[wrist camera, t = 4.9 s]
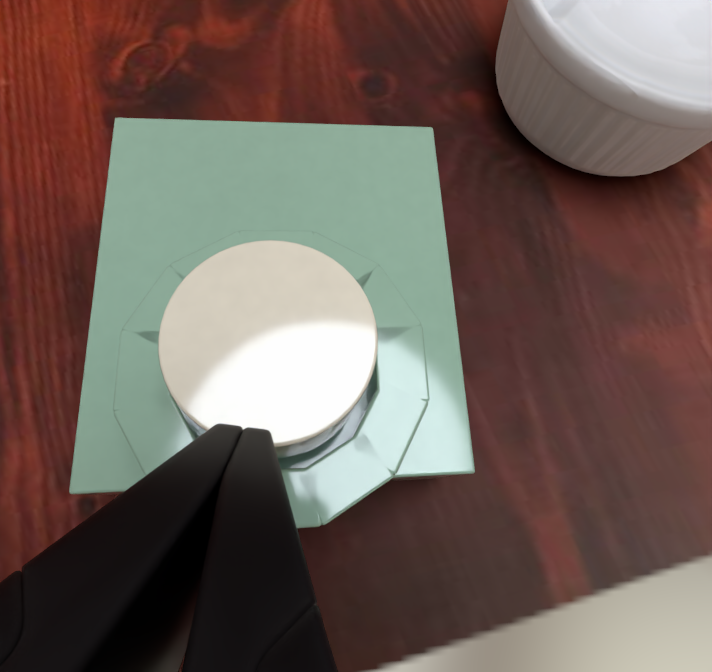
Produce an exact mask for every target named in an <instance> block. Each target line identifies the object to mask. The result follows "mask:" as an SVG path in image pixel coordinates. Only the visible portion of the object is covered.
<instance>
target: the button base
mask: <svg viewBox="0 0 712 672" xmlns="http://www.w3.org/2000/svg"><path fill="white" fill-rule="evenodd" d="M266 240H275V241H287V242H292V243H297V244H301V245H304V246H307V247H310V248H313V249H315V250H317V251H320V252H322V253H324V254H325V255H327V256H329V257H330V258H332V259H334V260H335V261H336V262H337V263H339V264H340V265H341V266H343V267H344V268H345V269H346V270H347V271H348V272H349V273H350V274H351V275H352V276H353V277H354V278H355V280H356V281H357V282H358V283H359V285H360V286H361V288H362V289H363V291H364V293H365V294H366V296H367V298H368V300H369V302H370V305H371V307H372V309H373V313H374V316H375V320H376V325H377V332H378V351H377V358H376V364H375V367H374V371H373V374H372V377H371V379H370V381H369V384H368V386H367V388H366V390H365V392H364V393H363V395H362V397H361V398H360V400H359V402H358V404H357V405H356V407H355V409H354V411H353V412H352V414H351V416H350V417H349V419H348V420H347V421H346V423H345V424H344V425H343V427H342V428H341V429H340V430H339V431H338V432H337V433H336V434H335V435H334V436H333V437H331V438H330V439H328V440H327V441H326V442H324V443H323V444H321V445H319V446H318V447H316V448H314V449H312V450H309V451H307V452H304V453H302V454H298V455H294V456H290V457H281V458H278V461H279V464H280V468H281V472H282V475H283V479H284V483H285V486H286V490H287V494H288V497H289V501H290V505H291V508H292V512H293V516H294V519H295V523H296V527H297V528H312V527H319V526H321V525H326V524H327V523H329V522H330V521H332V520H333V519H335V518H336V517H338V516H339V515H340V514H342V513H343V512H345V511H346V510H348V509H349V508H351V507H352V506H353V505H355V504H356V503H358V502H359V501H361V500H362V499H364V498H365V497H366V496H368V495H369V494H371V493H372V492H374V491H375V490H377V489H378V488H379V487H381V486H382V485H384V484H385V483H387V482H388V481H399V480H418V479H436V478H443V477H451V476H459V475H466V474H473V473H474V472H475V468H474V459H473V451H472V443H471V435H470V427H469V419H468V411H467V402H466V394H465V386H464V378H463V370H462V362H461V354H460V345H459V337H458V329H457V321H456V313H455V305H454V296H453V288H452V280H451V272H450V264H449V256H448V248H447V239H446V231H445V223H444V215H443V207H442V199H441V191H440V182H439V174H438V166H437V158H436V150H435V142H434V133H433V128H432V127H409V126H376V125H343V124H310V123H277V122H244V121H211V120H178V119H145V118H115V122H114V130H113V138H112V146H111V154H110V163H109V171H108V179H107V187H106V195H105V203H104V212H103V220H102V228H101V236H100V244H99V252H98V261H97V269H96V277H95V285H94V293H93V301H92V309H91V318H90V326H89V334H88V342H87V350H86V358H85V367H84V375H83V383H82V391H81V399H80V407H79V416H78V424H77V432H76V440H75V448H74V456H73V465H72V473H71V481H70V489H69V492H70V494H90V495H120V494H122V493H123V492H124V491H126V490H127V489H128V488H130V487H131V486H132V485H134V484H135V483H136V482H138V481H139V480H141V479H142V478H143V477H145V476H146V475H147V474H149V473H150V472H151V471H153V470H154V469H156V468H157V467H158V466H160V465H161V464H162V463H164V462H165V461H166V460H168V459H169V458H170V457H172V456H173V455H175V454H176V453H177V452H179V451H180V450H181V449H183V448H184V447H185V446H187V445H188V444H190V443H191V442H192V441H194V440H195V439H196V438H198V437H199V436H200V435H202V434H203V433H204V432H206V430H204V429H203V428H201V427H200V426H198V425H197V424H196V423H195V422H194V421H192V420H191V419H190V418H189V417H188V416H187V415H186V414H185V413H184V412H183V411H182V409H181V408H180V407H179V406H178V405H177V403H176V402H175V400H174V399H173V397H172V395H171V394H170V392H169V390H168V388H167V385H166V383H165V381H164V378H163V375H162V371H161V368H160V362H159V355H158V338H159V331H160V325H161V321H162V318H163V315H164V311H165V309H166V307H167V305H168V303H169V300H170V298H171V297H172V295H173V294H174V292H175V290H176V289H177V287H178V286H179V285H180V283H181V282H182V281H183V280H184V279H185V277H186V276H187V275H188V274H189V273H190V272H191V271H192V270H194V269H195V268H196V267H197V266H198V265H200V264H201V263H202V262H204V261H205V260H206V259H208V258H210V257H211V256H213V255H215V254H217V253H218V252H221V251H223V250H225V249H228V248H230V247H233V246H236V245H240V244H243V243H249V242H254V241H266Z"/></svg>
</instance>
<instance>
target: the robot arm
mask: <svg viewBox="0 0 712 672" xmlns="http://www.w3.org/2000/svg"><path fill="white" fill-rule="evenodd" d="M316 604H317V600H316V596H315V593H314V589H313V585H312V582H311V578H310V574H309V571H308V567H307V563H306V560H305V556H304V552H303V549H302V545H301V541H300V538H299V534H298V530H297V527H296V523H295V519H294V516H293V512H292V508H291V505H290V501H289V497H288V494H287V490H286V486H285V483H284V479H283V475H282V472H281V468H280V464H279V461H278V457H277V453H276V450H275V446H274V442H273V439H272V435H271V433H270V431H269V430H266V429H259V428H252V427H247V428H245V429H244V430H243V428H242V427H241V426H237V425H230V424H222V423H218V424H216V425H214V426H213V427H211V428H210V429H209V430H207V431H206V432H204V433H203V434H202V435H200V436H199V437H198V438H196V439H195V440H194V441H192V442H191V443H190V444H188V445H187V446H185V447H184V448H183V449H181V450H180V451H179V452H177V453H176V454H175V455H173V456H172V457H170V458H169V459H168V460H166V461H165V462H164V463H162V464H161V465H160V466H158V467H157V468H156V469H154V470H153V471H151V472H150V473H149V474H147V475H146V476H145V477H143V478H142V479H141V480H139V481H138V482H136V483H135V484H134V485H132V486H131V487H130V488H128V489H127V490H126V491H124V492H123V493H122V494H120V495H119V496H117V497H116V498H115V499H113V500H112V501H111V502H109V503H108V504H107V505H105V506H104V507H103V508H101V509H100V510H98V511H97V512H96V513H94V514H93V515H92V516H90V517H89V518H88V519H86V520H85V521H83V522H82V523H81V524H79V525H78V526H77V527H75V528H74V529H73V530H71V531H70V532H69V533H67V534H66V535H64V536H63V537H62V538H60V539H59V540H58V541H56V542H55V543H54V544H52V545H51V546H49V547H48V548H47V549H45V550H44V551H43V552H41V553H40V554H39V555H37V556H36V557H35V558H33V559H32V560H30V561H29V562H28V563H26V564H25V565H24V566H23V567H22V572H21V571H15V572H14V573H12V574H11V575H10V576H8V577H7V578H6V579H4V580H3V581H1V582H0V672H178V671H179V668H180V665H181V663H182V660H183V657H184V655H185V659H184V664H183V669H182V672H338V670H337V667H336V664H335V661H334V657H333V654H332V651H331V648H330V645H329V641H328V638H327V635H326V631H325V628H324V624H323V621H322V617H321V613H320V610H319V607H318V606H317V605H316ZM185 652H186V654H185Z"/></svg>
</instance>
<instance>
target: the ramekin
mask: <svg viewBox="0 0 712 672" xmlns="http://www.w3.org/2000/svg"><path fill="white" fill-rule="evenodd" d="M495 72H496V83H497V86H498V92H499V95H500V97H501V99H502V102H503V105H504V107H505V110H506V111H507V113H508V115H509V117H510V119H511V120H512V122H513V123H514V125H515V126H516V127H517V128H518V130H519V131H520V132H521V133H522V134H523V135H524V136H525V137H526V139H527V140H528V141H530V142H531V143H532V144H533V145H534V146H536V147H537V148H538V149H539V150H541V151H542V152H543V153H545V154H546V155H548V156H550V157H551V158H553V159H554V160H556V161H558V162H560V163H562V164H564V165H567V166H569V167H571V168H573V169H577V170H580V171H583V172H587V173H591V174H596V175H603V176H620V177H622V176H637V175H644V174H650V173H652V172H655V171H659V170H662V169H665V168H667V167H668V166H670V165H673V164H675V163H677V162H679V161H680V160H682V159H684V158H685V157H687V156H688V155H690V154H691V153H693V152H695V151H696V150H698V149H699V148H701V147H702V146H704V145H706V144H707V143H709V142H710V141H712V0H509V1H508V4H507V9H506V13H505V17H504V21H503V25H502V30H501V34H500V39H499V43H498V48H497V53H496V66H495Z"/></svg>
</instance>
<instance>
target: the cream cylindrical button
mask: <svg viewBox="0 0 712 672" xmlns="http://www.w3.org/2000/svg"><path fill="white" fill-rule="evenodd" d="M377 351H378V332H377V325H376V320H375V316H374V313H373V309H372V307H371V305H370V302H369V300H368V298H367V296H366V294H365V293H364V291H363V289H362V288H361V286H360V285H359V283H358V282H357V281H356V280H355V278H354V277H353V276H352V275H351V274H350V273H349V272H348V271H347V270H346V269H345V268H344V267H343V266H341V265H340V264H339V263H337V262H336V261H335V260H334V259H332V258H330V257H329V256H327V255H325V254H324V253H322V252H320V251H317V250H315V249H313V248H310V247H307V246H304V245H301V244H297V243H292V242H287V241H275V240H266V241H254V242H249V243H243V244H240V245H236V246H233V247H230V248H228V249H225V250H223V251H221V252H218V253H217V254H215V255H213V256H211V257H210V258H208V259H206V260H205V261H204V262H202V263H201V264H200V265H198V266H197V267H196V268H195V269H194V270H192V271H191V272H190V273H189V274H188V275H187V276H186V277H185V279H184V280H183V281H182V282H181V283H180V285H179V286H178V287H177V289H176V290H175V292H174V294H173V295H172V297H171V298H170V300H169V303H168V305H167V307H166V309H165V311H164V315H163V318H162V321H161V325H160V331H159V338H158V355H159V362H160V368H161V371H162V375H163V378H164V381H165V383H166V385H167V388H168V390H169V392H170V394H171V395H172V397H173V399H174V400H175V402H176V403H177V405H178V406H179V407H180V408H181V409H182V411H183V412H184V413H185V414H186V415H187V416H188V417H189V418H190V419H191V420H192V421H194V422H195V423H196V424H197V425H198V426H200V427H201V428H203V429H204V430H206V431H207V430H209V429H210V428H211V427H213V426H214V425H216V424H218V423H222V424H230V425H237V426H241V427H242V428H243V430H244V429H245V428H247V427H252V428H259V429H266V430H269V431H270V433H271V435H272V439H273V442H274V446H275V450H276V453H277V457H278V458H281V457H290V456H294V455H298V454H302V453H304V452H307V451H309V450H312V449H314V448H316V447H318V446H319V445H321V444H323V443H324V442H326V441H327V440H328V439H330V438H331V437H333V436H334V435H335V434H336V433H337V432H338V431H339V430H340V429H341V428H342V427H343V425H344V424H345V423H346V421H347V420H348V419H349V417H350V416H351V414H352V412H353V411H354V409H355V407H356V405H357V404H358V402H359V400H360V398H361V397H362V395H363V393H364V392H365V390H366V388H367V386H368V384H369V381H370V379H371V377H372V374H373V371H374V367H375V364H376V358H377Z"/></svg>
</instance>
